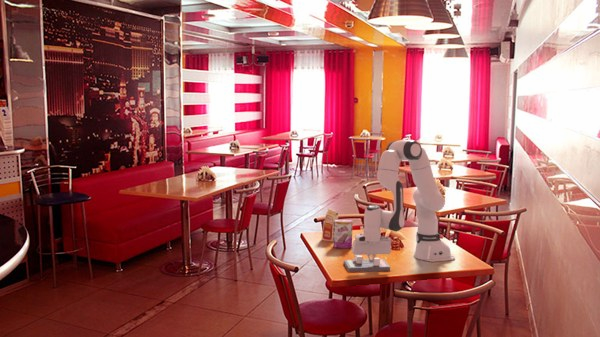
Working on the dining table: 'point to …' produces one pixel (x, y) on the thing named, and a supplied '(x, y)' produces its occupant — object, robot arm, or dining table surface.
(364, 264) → the breaker panel
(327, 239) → the milk carton
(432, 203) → the robot arm
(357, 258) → the handle middle
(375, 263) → the handle
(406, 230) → the dining table surface
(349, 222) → the candy bar box
